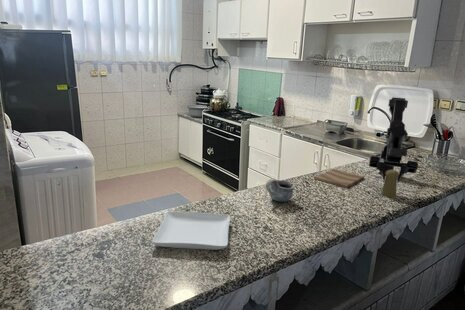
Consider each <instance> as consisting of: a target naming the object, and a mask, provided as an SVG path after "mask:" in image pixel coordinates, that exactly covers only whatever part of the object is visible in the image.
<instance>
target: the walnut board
mask: <svg viewBox="0 0 465 310" xmlns="http://www.w3.org/2000/svg"><path fill="white" fill-rule="evenodd" d="M364 179H365V175H360V174H356V173H352V172H348V171H345V170H341V169H337V168H333V169H330V170H327V171H325V172H323V173H321V174H317V175H316V176H314V180H316V181H320V182H324V183H326V184H330V185H333V186H338V187H341V188H345V189H348V188H350V187H352V186H353V185H355V184H357V183H358V182H361V181H363V180H364Z"/></svg>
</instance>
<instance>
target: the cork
mask: <svg viewBox="0 0 465 310" xmlns="http://www.w3.org/2000/svg"><path fill="white" fill-rule="evenodd" d="M398 176H399V171H397V170H395V169H394V170H387V171H386V172H385V181H384V183H383V185H382V188H381V191H380V195H381V196H383V197H385V196H386V198H390V197H391V199H393V197H394V198H396V197H397V180H398Z"/></svg>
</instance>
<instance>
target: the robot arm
mask: <svg viewBox="0 0 465 310" xmlns="http://www.w3.org/2000/svg"><path fill="white" fill-rule="evenodd" d="M408 104H409V100H407V99H406V98H405V97H392V98H390V99H389V100H388V104H387V105H388V106H387V107H389V108H388V110H389V113H390V116H391V118H390V123H389V127H387V131H386V136H387V143H386V144H385V145H384V147H383V149H382V150H381V152H380V156H377V155H371V156H370V157H369V163H368V166H369V167H370V168H376V170H378V171H379V172H378V173H377V174H379V175H381V177H382V180H383V181H384V182H385V179H386V176H385V172H386V171H387V170H395V169H394V168H395V167H396V168H400V169H399V171H398V173H399V176H398V178H397V180H396V184H398V183H399V182H400V180H401V178H403V175H405V174H408V173H410V174H416V173H417V170H418V168H419V162H418V161H417V160H415V161H414V160H409V159H408V160H407V162H402V160H403V158H402V157H407V155H408V148H407V147H406V148H405V147H403V143H404V141H405V138H406V137H408V135H409V134H408V132H407V129H406V124H405V123H404V122H403V115H404V112H405V111H406V110H405V109H407V108H408Z"/></svg>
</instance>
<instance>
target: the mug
mask: <svg viewBox="0 0 465 310" xmlns="http://www.w3.org/2000/svg"><path fill="white" fill-rule="evenodd" d="M265 188H266V191H267V192H268V193H269V194H268V195H269V197H270V198H271V199H272V200H274V201H275V202H277V203H286V202H288V201H290V200H291V198H292V197H293V193H294V192H293V191H294V188H295V184H294V183H293V182H292V181H289V180H283V179H281V180H278V179H276V178H273V177H272V178H268V180H267V181H266V183H265Z"/></svg>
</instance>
